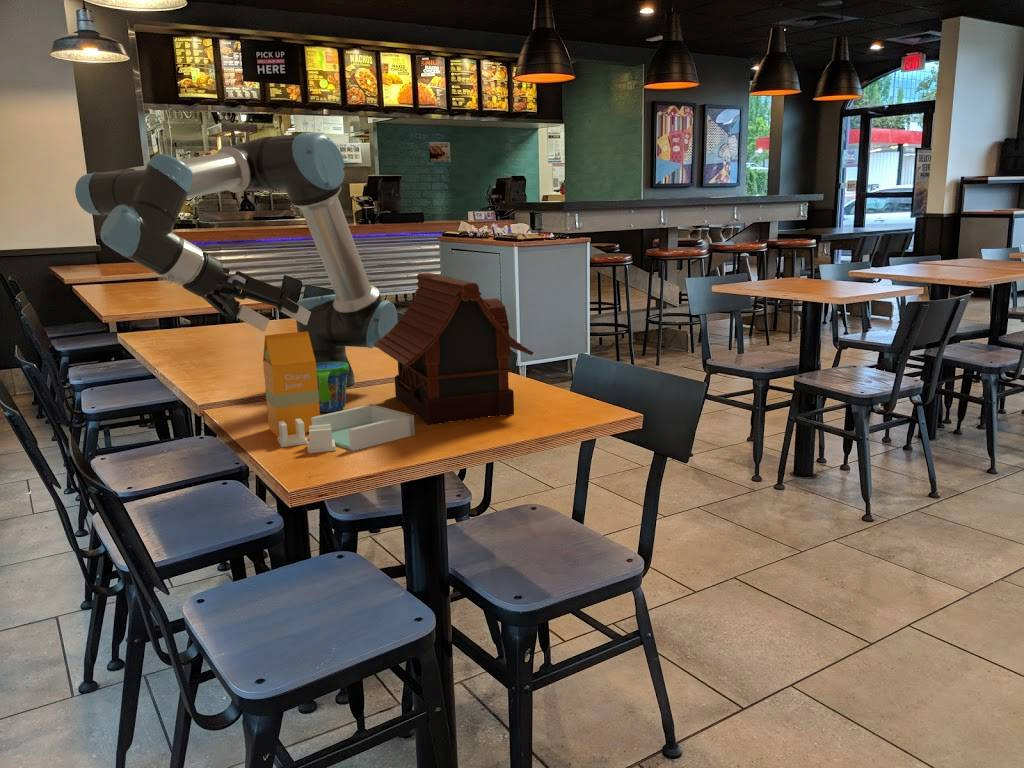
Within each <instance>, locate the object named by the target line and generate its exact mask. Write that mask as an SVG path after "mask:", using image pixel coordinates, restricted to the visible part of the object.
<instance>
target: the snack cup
mask: <svg viewBox="0 0 1024 768" xmlns="http://www.w3.org/2000/svg"><path fill="white" fill-rule="evenodd" d="M316 371H317V383H318V393H319V409H320V413H333V412H338V411H342V410H343V409H344V408H345V406H346V399H347V396H346V395H347V387H346V386H347V373H348V372H349V364H348V363H345V362H319V363H316Z"/></svg>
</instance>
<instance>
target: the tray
mask: <svg viewBox="0 0 1024 768" xmlns="http://www.w3.org/2000/svg"><path fill="white" fill-rule="evenodd" d="M311 421H312V426H313V425H324V424H331V431H332V440H333V439H334V440H335V446H339V447H341V448H344V449H347V450H349V451H353V452H356V451H359V449H360V450H362V449H366V448H370V447H374V446H378V445H382V444H385V443H389V442H392V441H397V440H401V439H404V438H407V437H408V438H409V437H412V436H415V435H416V432H415V428H416V427H415V415H414V414H410V413H408V412H407V413H406V412H404V411H399V410H395V409H391V408H388V407H383V406H380V405H376V404H371V403H370V404H366V405H361V406H357V407H353V408H352V407H351V408H348V409H344V410H343V409H342V410H337V411H332V412H328V413H326V414H320V416H315V417H311Z"/></svg>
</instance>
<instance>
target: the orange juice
mask: <svg viewBox="0 0 1024 768" xmlns="http://www.w3.org/2000/svg"><path fill="white" fill-rule="evenodd" d="M263 345H264V346H263V358H262V365H263V375H264V386H265V389H264V391H265V399H266V407H267V408H266V409H267V417H268V418H267V420H268V429H269V431H270V432H272V433H273V434H274V435H275V436H276V437H277V436H278V437H279V436H280V435H279V424H278V421H284V422H285V423H286V425H287V432H288V435H294V434H296V424H295V419H301V420H302V421H303V422H304V429H305V434H307V433H306V432H309V426H312V421H311V417H315V416H320V415H321V412H320V409H319V393H318V383H317V371H316V360H315V357H314V353H313V349H312V345H311V341H310V337H309V334H308V331H306V332H288V333H287V332H286V333H276V334H265V335H264V344H263Z"/></svg>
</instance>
